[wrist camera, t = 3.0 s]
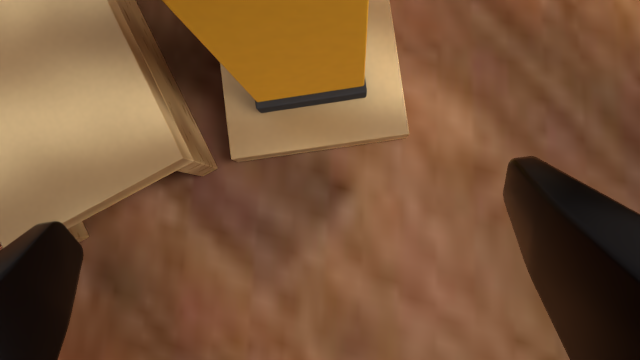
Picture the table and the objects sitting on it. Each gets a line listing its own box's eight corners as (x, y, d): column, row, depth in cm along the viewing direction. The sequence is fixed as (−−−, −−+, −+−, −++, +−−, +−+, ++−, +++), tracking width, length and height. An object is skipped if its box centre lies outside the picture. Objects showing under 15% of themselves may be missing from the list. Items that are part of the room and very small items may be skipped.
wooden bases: (489, 94, 21) (525, 63, 17) (98, 299, 22) (33, 322, 18) (334, -174, 23) (328, -267, 18) (-22, 28, 24) (-108, -13, 20)
